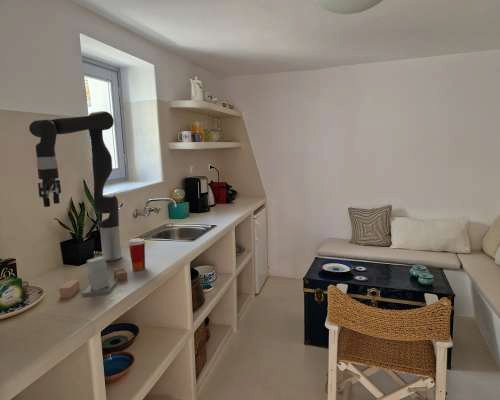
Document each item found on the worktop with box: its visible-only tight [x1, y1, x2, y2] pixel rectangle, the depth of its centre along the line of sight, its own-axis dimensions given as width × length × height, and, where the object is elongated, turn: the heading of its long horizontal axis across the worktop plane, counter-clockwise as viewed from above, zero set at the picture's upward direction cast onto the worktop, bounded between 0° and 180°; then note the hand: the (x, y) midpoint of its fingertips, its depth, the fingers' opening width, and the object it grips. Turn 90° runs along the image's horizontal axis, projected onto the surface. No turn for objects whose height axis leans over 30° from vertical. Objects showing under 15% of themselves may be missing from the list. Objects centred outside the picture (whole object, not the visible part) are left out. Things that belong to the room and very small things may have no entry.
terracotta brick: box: [58, 279, 81, 299], centre depth 136 cm, size 8×4×4 cm, turn 5°
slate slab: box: [81, 281, 117, 297], centre depth 138 cm, size 10×10×2 cm
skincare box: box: [86, 255, 110, 291], centre depth 137 cm, size 6×4×12 cm
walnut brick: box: [112, 266, 128, 284], centre depth 149 cm, size 8×4×4 cm, turn 32°
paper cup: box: [127, 237, 146, 272], centre depth 161 cm, size 8×8×14 cm
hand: (52, 205), depth 148 cm, fingers open, 8 cm apart
